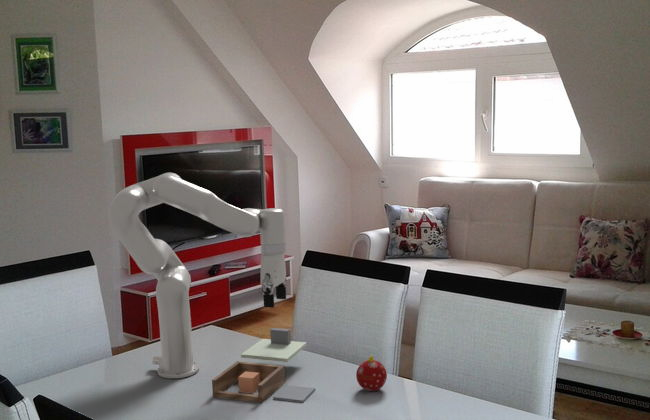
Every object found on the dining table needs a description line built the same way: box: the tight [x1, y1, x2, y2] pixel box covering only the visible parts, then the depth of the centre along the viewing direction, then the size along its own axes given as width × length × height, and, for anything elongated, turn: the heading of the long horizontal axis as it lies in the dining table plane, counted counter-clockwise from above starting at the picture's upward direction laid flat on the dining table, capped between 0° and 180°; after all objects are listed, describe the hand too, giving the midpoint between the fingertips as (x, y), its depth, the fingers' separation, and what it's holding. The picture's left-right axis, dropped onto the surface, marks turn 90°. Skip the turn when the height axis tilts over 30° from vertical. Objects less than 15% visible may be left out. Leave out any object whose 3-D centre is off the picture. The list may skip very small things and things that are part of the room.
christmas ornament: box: [355, 355, 388, 392], centre depth 202 cm, size 9×9×10 cm
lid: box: [240, 327, 308, 363], centre depth 221 cm, size 15×15×6 cm
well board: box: [211, 361, 286, 404], centre depth 205 cm, size 15×15×5 cm
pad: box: [272, 384, 316, 403], centre depth 201 cm, size 9×9×1 cm
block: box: [238, 371, 261, 394], centre depth 205 cm, size 4×4×4 cm
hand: (275, 302), depth 222 cm, fingers open, 9 cm apart
